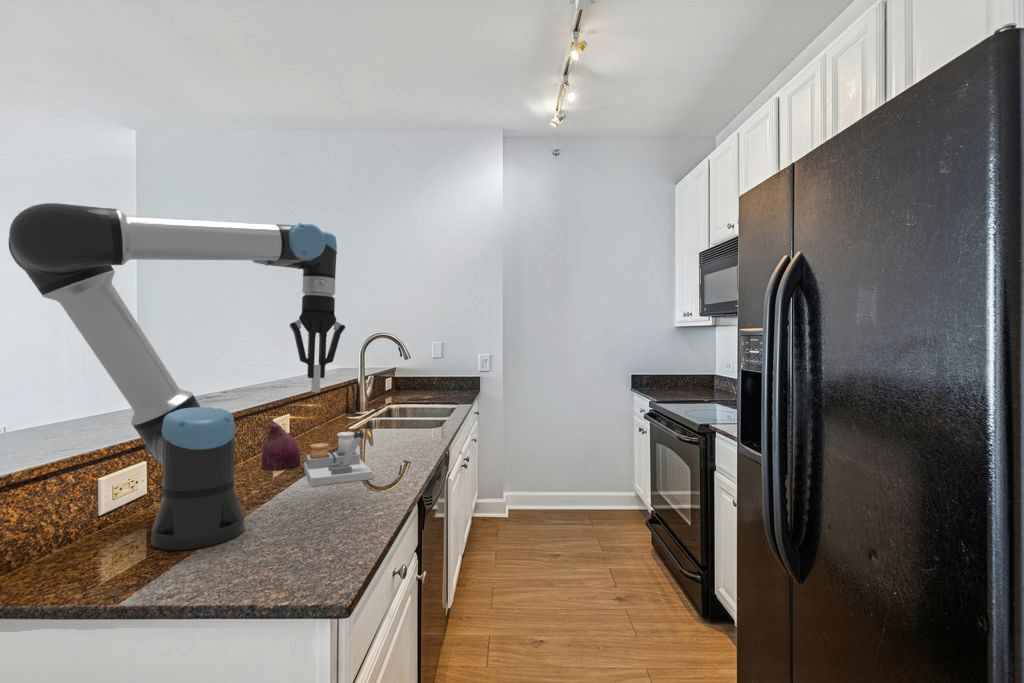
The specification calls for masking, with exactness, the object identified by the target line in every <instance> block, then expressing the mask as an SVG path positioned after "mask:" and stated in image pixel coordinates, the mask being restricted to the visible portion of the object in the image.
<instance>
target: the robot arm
mask: <svg viewBox="0 0 1024 683" xmlns="http://www.w3.org/2000/svg"><path fill="white" fill-rule="evenodd" d="M337 245H338V244H337V238H336V236H335V235H334V234H333V233H332V232H328V231H323V230H321V229H320V228H319V227H318V226H317V225H315V224H313V223H310V222H299V223H295V224H280V223H279V224H278V223H277V224H274V223H261V222H260V223H259V222H244V221H240V222H239V221H229V220H228V221H225V220H214V219H213V220H212V219H211V220H209V219H193V218H175V217H159V216H156V217H155V216H145V215H144V216H142V215H126V214H125V213H123V212H122V211H121V210H120V209H118V208H110V207H109V208H108V207H106V208H105V207H100V206H99V207H97V206H87V205H77V204H67V203H59V202H56V203H54V202H53V203H51V202H49V203H48V202H46V203H40V204H36V205H34V204H33V205H31V206H28V207H27V208H25V209H24V210H22V211H21V212H19V213H18V214H17V215H16V216H15V218H13V220H12V222H11V224H10V228H9V236H8V248H9V249H8V250H9V253H10V255H11V257H12V259H13V260H14V262H15V263H16V264H17V266H19V268H20V269H22V270H23V271H25V273H26V274H27V276H28V278H29V279H30V280H31V282H32V283H33V285H34V287H36V289H37V290H38V291H39V293H40V294H41V296H42V297H43V298H46V299H49V300H53V301H56V302H57V303H59V304H60V305H61V307H62V309H63V310H64V311H65V312H66V314H67V316H68V317H69V318H70V321H72V323H73V324H74V326H75V327H76V328H77V330H78V332H79V334H80V335H81V336H82V338H83V339H84V341H85V342H86V343H87V344H88V346H89V347H90V349H91V351H92V352H93V354H94V355H95V357H96V358H97V359H98V361H99V362H100V364H101V365H102V367H103V368H104V369H105V371H106V373H107V374H108V375H109V377H110V378H111V380H112V381H113V382H114V384H115V385H116V387H117V388H118V390H119V392H120V393H121V394H122V395H123V397H124V399H125V401H127V403H128V404H129V406H130V407H131V409H132V410H133V415H132V418H131V421H130V423H131V425H132V427H133V428H134V430H135V431H136V432H137V433H138V435H139V436H140V438H141V439H142V441H143V444H144V445H145V446H144V447H145V449H146V451H147V453H149V455H150V456H151V457H153V458H154V460H156V461H158V462H159V463H161V464H162V500H161V503H160V506H159V508H158V512H157V514H156V517H155V519H154V521H153V525H152V528H151V532H150V533H151V534H150V536H151V537H150V544H151V546H152V547H153V548H156V549H159V550H165V551H186V550H194V549H200V548H206V547H211V546H213V545H219V544H221V543H225V542H227V541H229V540H231V539H234V538H236V537H238V536H239V535H241V533H243V531H244V530H245V515H244V511H243V509H242V506H241V503H240V501H239V499H238V495H237V493H236V490H235V489H236V488H235V453H236V452H235V451H236V450H235V449H236V448H235V436H236V426H235V418H234V415H233V414H232V413H231V412H229V411H228V410H226V409H223V408H214V407H210V406H209V407H207V406H203V407H202V406H201V405H200V403H199V402H198V400H197V399H196V397H195V395H194V393H192V391H190V390H189V391H188V390H184V389H181V388H180V387H179V386H178V385H177V383H176V381H175V380H174V378H173V377H172V374H170V372H169V370H168V369H167V366H165V364H164V362H163V361H162V359H161V358H160V357H159V355H158V352H156V350H155V348H154V347H153V345H152V344H151V342H150V340H149V339H148V337H147V336H146V334H145V333H144V332H143V329H142V328H141V327H140V325H139V323H138V322H137V321H136V319H135V318H134V316H133V314H132V313H131V310H130V309H129V308H128V306H127V305H126V303H125V301H124V300H123V299H122V297H121V295H120V294H119V292H118V290H116V288H115V286H114V284H113V282H112V281H113V279H114V276H115V274H116V270H115V269H114V267H113V266H124V265H125V264H126V263H127V262H128V261H130V260H133V261H134V260H143V261H144V260H149V261H150V260H152V261H153V260H155V261H156V260H158V261H159V260H161V261H162V260H163V261H164V260H165V261H169V260H170V261H171V260H173V261H176V260H177V261H181V260H182V261H252V262H253V263H255V264H259V265H265V266H266V267H267V266H272V267H274V266H275V267H281V268H289V269H296V270H302V271H303V272H302V294H304V295H303V296H302V297H301V298H302V299H301V312H300V313H301V314H300V315H299V317H298V319H297V320H295V321H293V322H290V323H289V328H290V329H291V331H292V332H293V334H294V340H295V345H296V348H297V354H298V357H299V358H298V359H299V361H300V362H301V363H303V364H306V365H307V378H308V379H311V390H310V391H311V392H312V393H320V392H321V390H320V389H321V379H324V378H325V377H326V376H325V375H326V372H325V371H326V365H328V364H330V363H333V362H334V359H335V356H336V352H337V349H338V345H339V341H340V338H341V334H342V333H343V331H345V329H346V326H345V325H344V324H341V323H340V322H338V321H337V317H336V316H335V310H336V309H335V307H336V306H335V304H336V298H335V297H333V296H335V295H336V272H337V271H336V269H337V254H338V248H337ZM302 326H303V327H304V328H305V330H306V332H308V333H307V337H308V339H307V356H306V351H305V350H306V349H305V347H304V340H303V336H302V333H301V330H300V329H302ZM332 327H333V330H334V332H333V335H332V338H331V342H330V345H329V349H328V352H327V336H328V333H329V331H330V330H331V329H332ZM317 333H318V337H319V339H318V340H319V341H318V364H315V360H316V359H315V357H316V356H315V355H316V354H315V353H316V336H317ZM326 352H327V353H326Z"/></svg>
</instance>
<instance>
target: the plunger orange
mask: <svg viewBox="0 0 1024 683" xmlns="http://www.w3.org/2000/svg"><path fill="white" fill-rule="evenodd" d="M328 447H329V443H326V442H318V443H313V444H310V449H311V455H312V459H317V458H327V453H328Z"/></svg>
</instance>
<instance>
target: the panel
mask: <svg viewBox="0 0 1024 683" xmlns="http://www.w3.org/2000/svg"><path fill="white" fill-rule="evenodd" d="M345 453H346V452H345ZM345 453H342V452H338V451H334V452H332V454H331V453H330V452H327V458H317V459H312V454H306V455H305V462H304V463H303V471H304V473H305V475H306V478H307V479H308V482H309V484H310V486H311V487H317V486H326V485H336V484H342V483H351V482H353V483H354V482H360V481H369V480H373V471H372V469H370V468H369V466H367V464H366V463H365V462H364V461H363V460H362V459H361V456H360V455H361V454H359V453H358V451H357V450H355V452H354V454H353V456H352V458H351V459H350V461H349V463H348V465H347V467H339V465H340V463H341V461H342V459H343V457H344V455H345Z"/></svg>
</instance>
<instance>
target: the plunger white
mask: <svg viewBox="0 0 1024 683" xmlns="http://www.w3.org/2000/svg"><path fill="white" fill-rule="evenodd" d="M336 434H337V437H338V438H337V439H338V444H337V445H338V446H337V447H338V448H337V449H338V450H337V452H342V453H345V452H346V451H347V450H348V448H349V446H350V444H351V442H352V440H353V438H354V434H355V432H354V431H340V432H338V433H336Z"/></svg>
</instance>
